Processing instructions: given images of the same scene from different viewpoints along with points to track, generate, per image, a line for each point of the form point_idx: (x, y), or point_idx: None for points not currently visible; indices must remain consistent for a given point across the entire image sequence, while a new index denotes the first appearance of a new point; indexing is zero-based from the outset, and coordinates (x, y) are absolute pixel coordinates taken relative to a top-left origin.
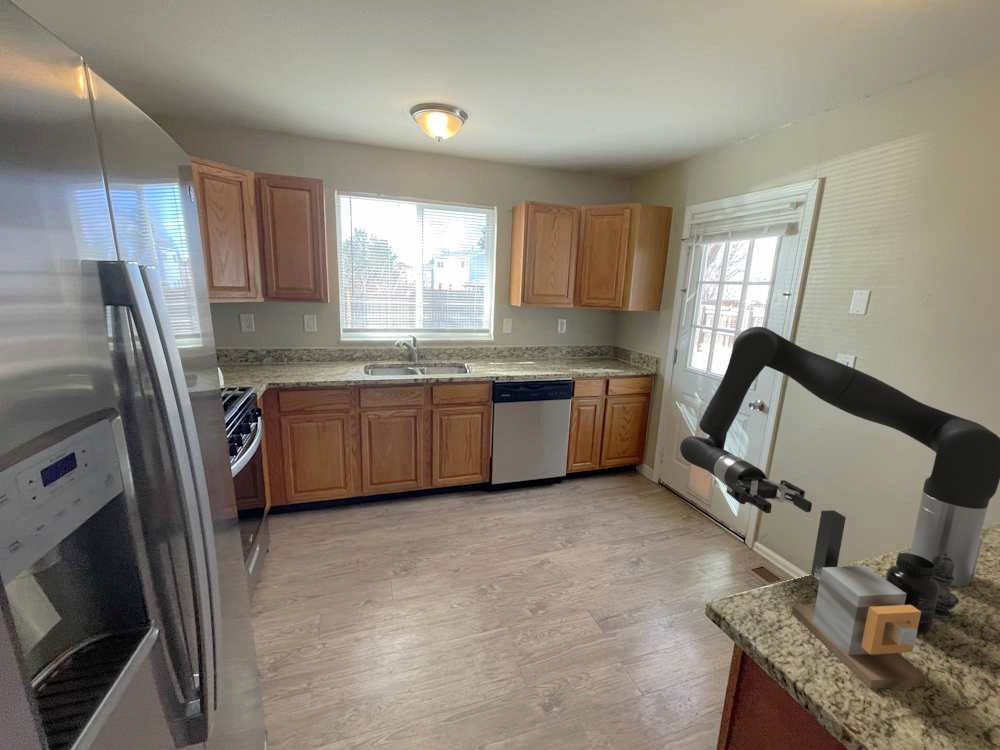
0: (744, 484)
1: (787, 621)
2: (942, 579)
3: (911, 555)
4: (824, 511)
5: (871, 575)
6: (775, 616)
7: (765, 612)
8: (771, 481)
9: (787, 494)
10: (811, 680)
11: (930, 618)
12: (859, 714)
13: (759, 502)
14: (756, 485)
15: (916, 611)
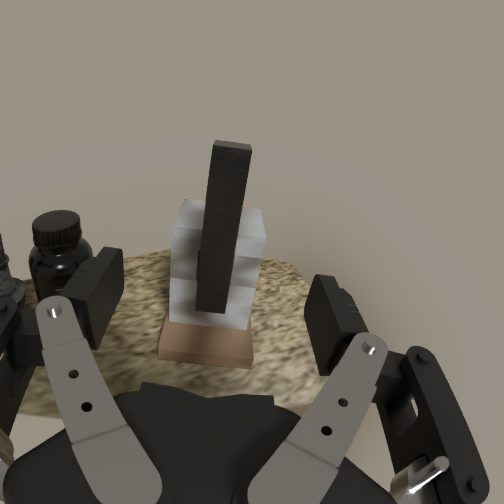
0: (378, 491)
1: (272, 356)
2: (8, 257)
3: (42, 225)
4: (247, 148)
5: (192, 216)
6: (285, 366)
7: (298, 374)
8: (80, 444)
9: (7, 425)
10: (301, 295)
11: None
12: (279, 271)
13: (354, 305)
14: (317, 413)
15: (197, 200)
